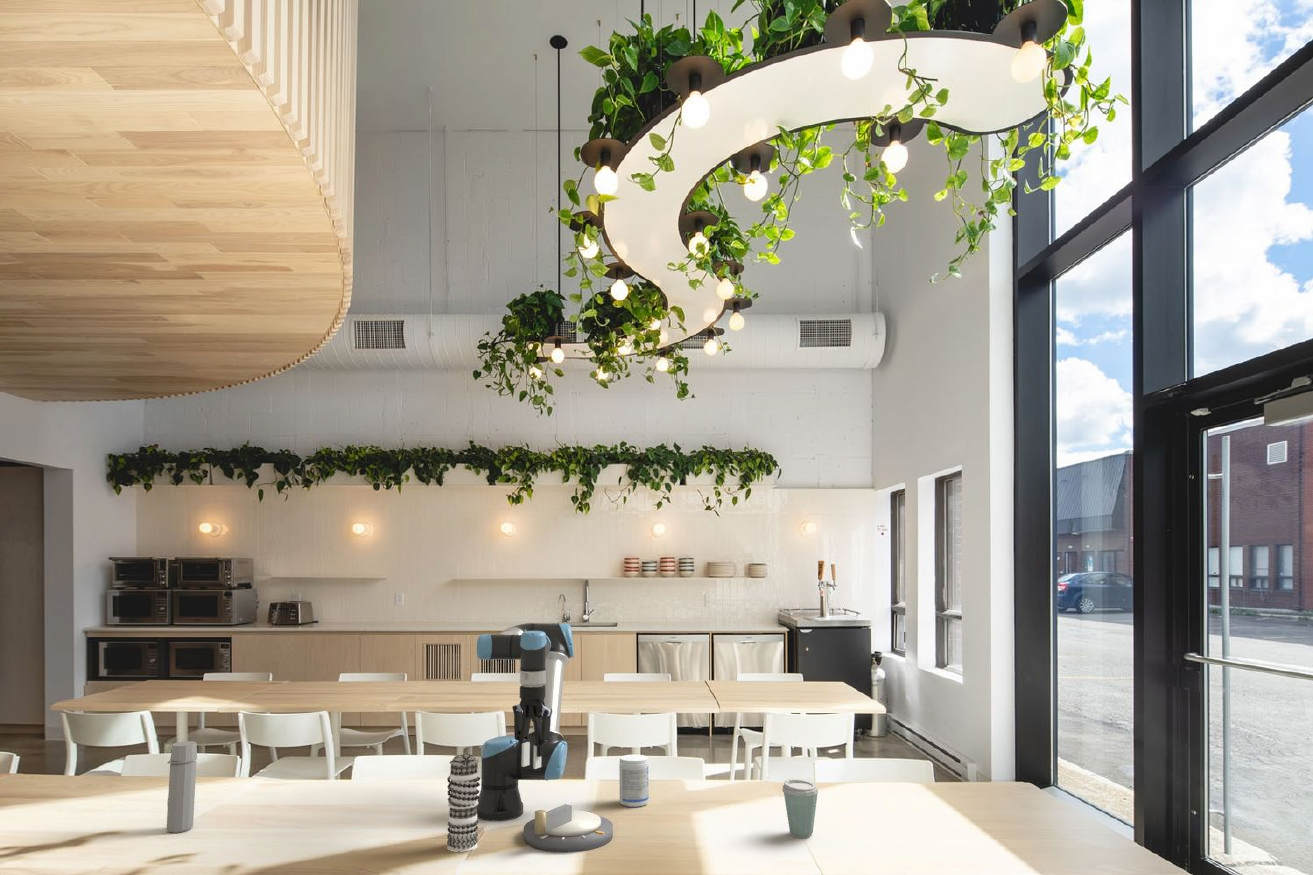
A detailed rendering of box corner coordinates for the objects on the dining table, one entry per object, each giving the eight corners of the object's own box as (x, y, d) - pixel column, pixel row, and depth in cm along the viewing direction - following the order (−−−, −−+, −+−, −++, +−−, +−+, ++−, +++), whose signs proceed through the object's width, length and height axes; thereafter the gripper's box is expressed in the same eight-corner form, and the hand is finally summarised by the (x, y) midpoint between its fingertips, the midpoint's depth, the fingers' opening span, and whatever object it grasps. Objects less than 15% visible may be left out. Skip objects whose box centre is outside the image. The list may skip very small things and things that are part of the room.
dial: (562, 811, 281) (562, 787, 282) (613, 822, 271) (613, 797, 272) (510, 833, 261) (511, 807, 262) (563, 845, 251) (563, 818, 252)
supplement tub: (654, 804, 299) (654, 758, 301) (629, 809, 294) (629, 762, 296) (638, 797, 308) (638, 752, 309) (613, 802, 302) (614, 756, 304)
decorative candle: (462, 854, 253) (465, 761, 255) (438, 848, 257) (441, 757, 260) (485, 845, 260) (487, 754, 263) (461, 839, 265) (463, 750, 268)
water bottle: (199, 827, 275) (204, 742, 278) (176, 835, 268) (181, 747, 271) (178, 823, 279) (183, 739, 282) (155, 830, 272) (160, 744, 275)
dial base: (504, 841, 264) (505, 829, 264) (560, 817, 286) (560, 806, 286) (577, 858, 250) (577, 845, 250) (629, 832, 272) (629, 820, 272)
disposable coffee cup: (821, 831, 273) (821, 779, 275) (816, 842, 263) (815, 788, 265) (786, 827, 277) (786, 776, 278) (779, 838, 267) (778, 785, 268)
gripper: (502, 683, 271) (500, 765, 268) (547, 689, 262) (545, 773, 260) (519, 680, 277) (517, 760, 275) (563, 685, 268) (562, 767, 266)
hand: (531, 766), depth 267 cm, fingers open, 4 cm apart
